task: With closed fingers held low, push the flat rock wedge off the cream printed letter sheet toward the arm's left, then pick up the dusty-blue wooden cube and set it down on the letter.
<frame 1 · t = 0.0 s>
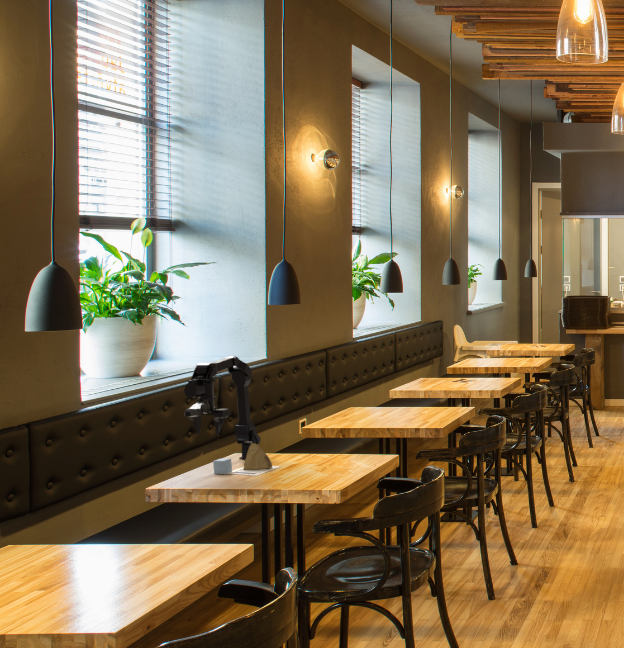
hand: (208, 434, 318), 15 cm above the table, fingers open, 9 cm apart
letter: (253, 470, 317), on the table
rock: (258, 469, 318), resting on letter
cube: (223, 472, 314), on the table, touching letter
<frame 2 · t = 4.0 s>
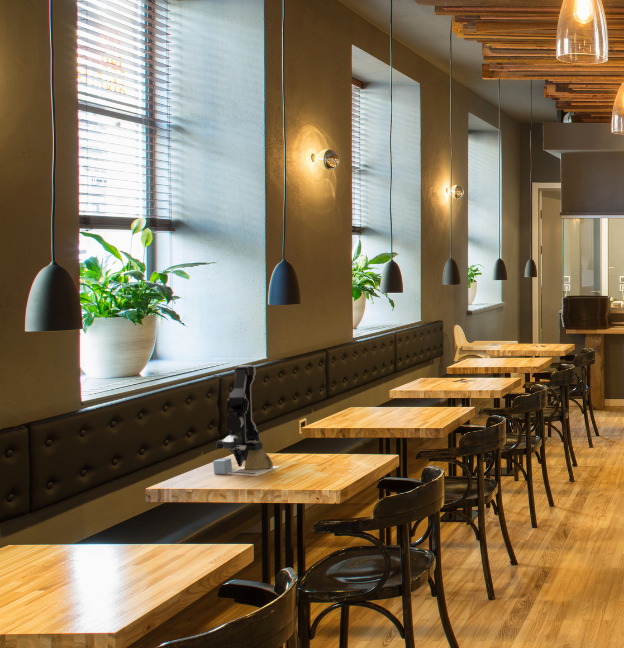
hand: (240, 466, 320), 1 cm above the table, fingers closed
rock: (259, 469, 318), resting on letter, touching gripper
everything else where it was.
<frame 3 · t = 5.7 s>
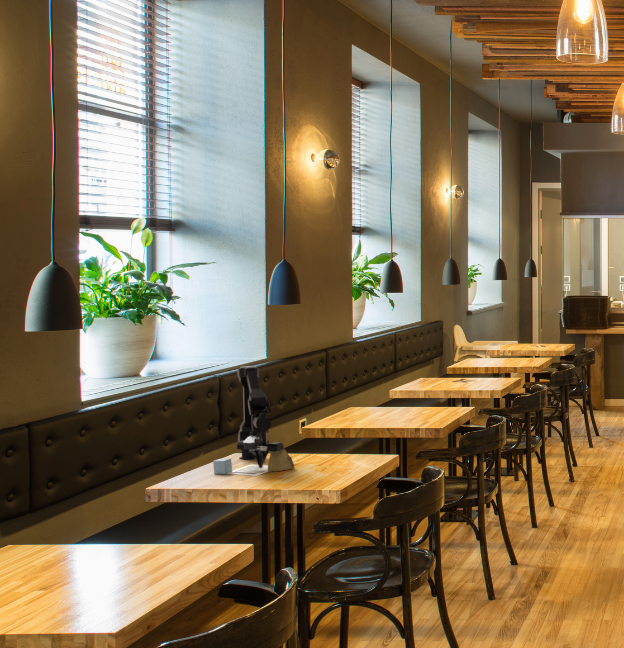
hand: (260, 467, 315), 1 cm above the table, fingers closed
rock: (281, 470, 315), on the table, touching gripper
everything else where it was.
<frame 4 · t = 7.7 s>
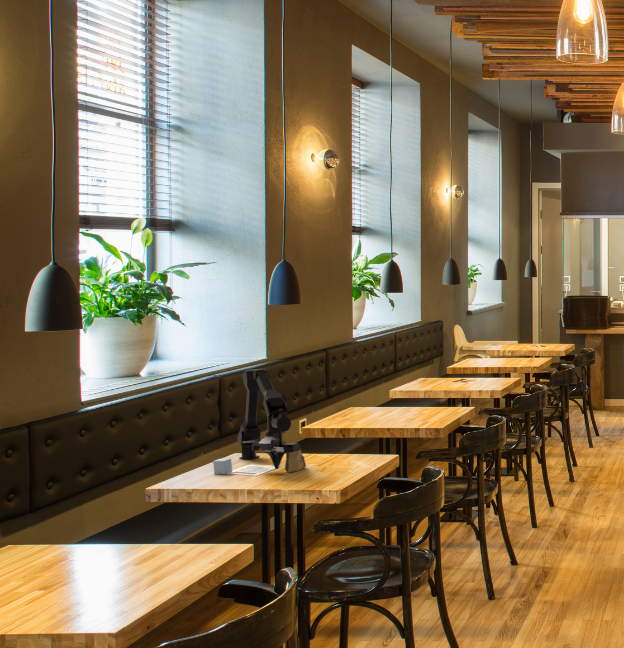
hand: (276, 468, 311), 1 cm above the table, fingers closed
rock: (295, 469, 314), on the table, touching gripper
everything else where it was.
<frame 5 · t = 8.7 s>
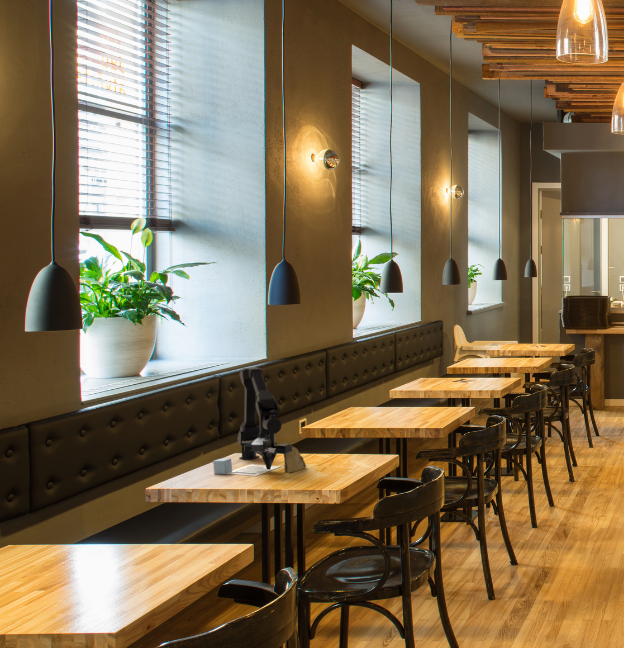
hand: (268, 469, 314), 1 cm above the table, fingers closed
rock: (295, 470, 314), on the table
everything else where it was.
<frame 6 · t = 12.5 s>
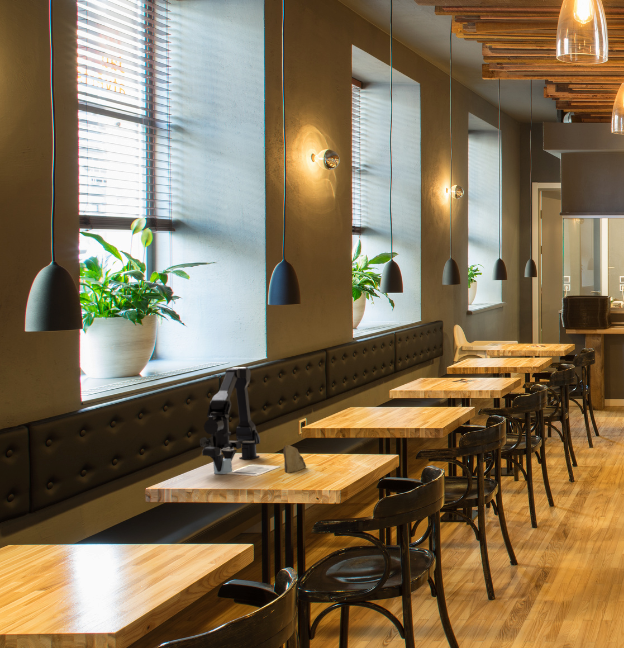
hand: (223, 470, 314), 1 cm above the table, fingers closed on cube, 5 cm apart
cube: (223, 472, 314), on the table, touching gripper
everything else where it was.
when the fingers open (1 cm above the table, at t = 16.4 s): cube stays where it is, resting on letter.
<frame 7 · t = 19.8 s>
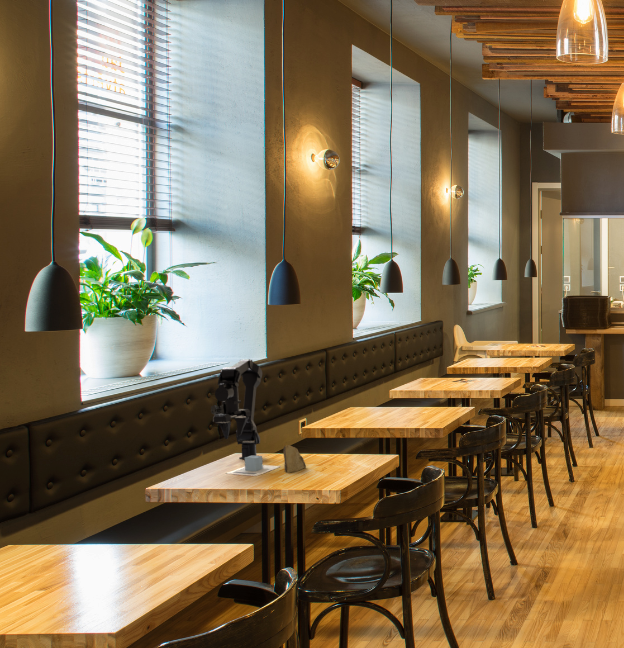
hand: (233, 436, 326), 12 cm above the table, fingers open, 9 cm apart
cube: (253, 469, 317), resting on letter
everything else where it was.
at the end: rock inside the target area (15.4 cm from its centre), on the table; cube inside the target area (0.1 cm from its centre), resting on letter; cube tilted 0° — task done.
